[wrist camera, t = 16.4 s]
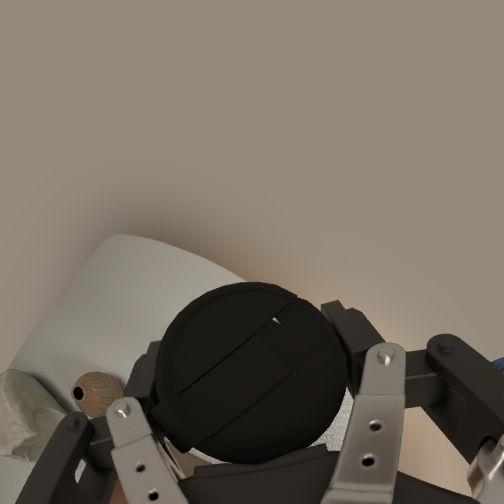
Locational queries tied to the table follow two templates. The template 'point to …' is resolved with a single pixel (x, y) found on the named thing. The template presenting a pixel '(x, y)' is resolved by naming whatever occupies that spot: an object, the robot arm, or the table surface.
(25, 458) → the decorative stone
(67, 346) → the table surface
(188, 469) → the cabinet
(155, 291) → the table surface
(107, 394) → the vase
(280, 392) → the travel mug
